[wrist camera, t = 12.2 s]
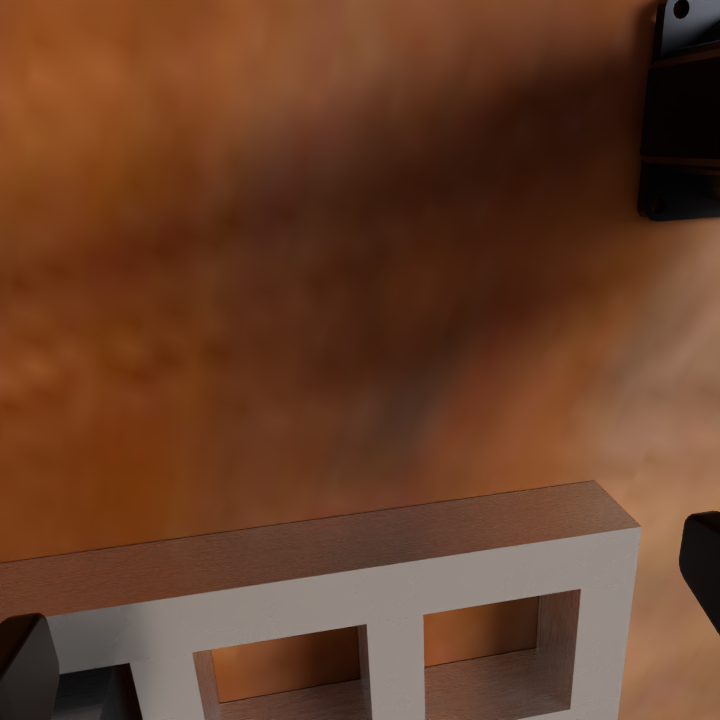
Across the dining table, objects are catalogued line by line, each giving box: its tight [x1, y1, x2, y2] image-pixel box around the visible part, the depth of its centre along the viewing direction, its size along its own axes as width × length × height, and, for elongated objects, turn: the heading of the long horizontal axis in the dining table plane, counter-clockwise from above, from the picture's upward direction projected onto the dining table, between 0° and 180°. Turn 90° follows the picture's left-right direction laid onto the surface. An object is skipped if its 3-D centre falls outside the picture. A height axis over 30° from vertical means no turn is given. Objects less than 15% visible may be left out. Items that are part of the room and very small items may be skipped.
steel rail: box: [0, 481, 641, 720], centre depth 22 cm, size 25×10×3 cm, turn 93°
